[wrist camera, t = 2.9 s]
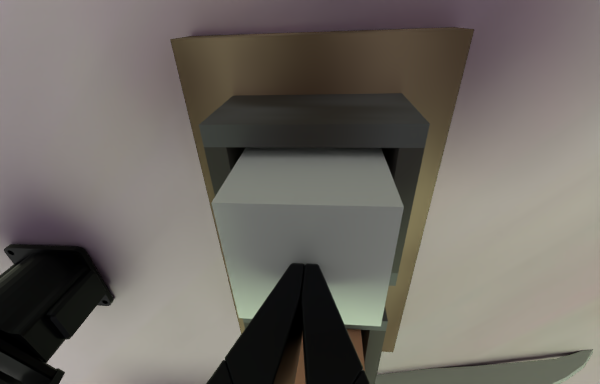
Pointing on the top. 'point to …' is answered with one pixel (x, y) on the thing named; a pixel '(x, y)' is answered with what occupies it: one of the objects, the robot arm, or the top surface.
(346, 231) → the grey button
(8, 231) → the top surface
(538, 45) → the top surface
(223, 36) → the button board
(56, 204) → the top surface
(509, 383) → the kitchen knife
